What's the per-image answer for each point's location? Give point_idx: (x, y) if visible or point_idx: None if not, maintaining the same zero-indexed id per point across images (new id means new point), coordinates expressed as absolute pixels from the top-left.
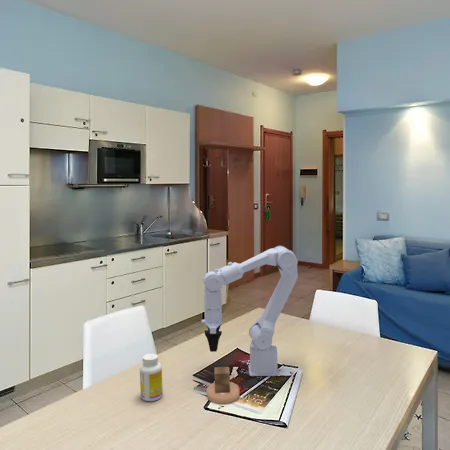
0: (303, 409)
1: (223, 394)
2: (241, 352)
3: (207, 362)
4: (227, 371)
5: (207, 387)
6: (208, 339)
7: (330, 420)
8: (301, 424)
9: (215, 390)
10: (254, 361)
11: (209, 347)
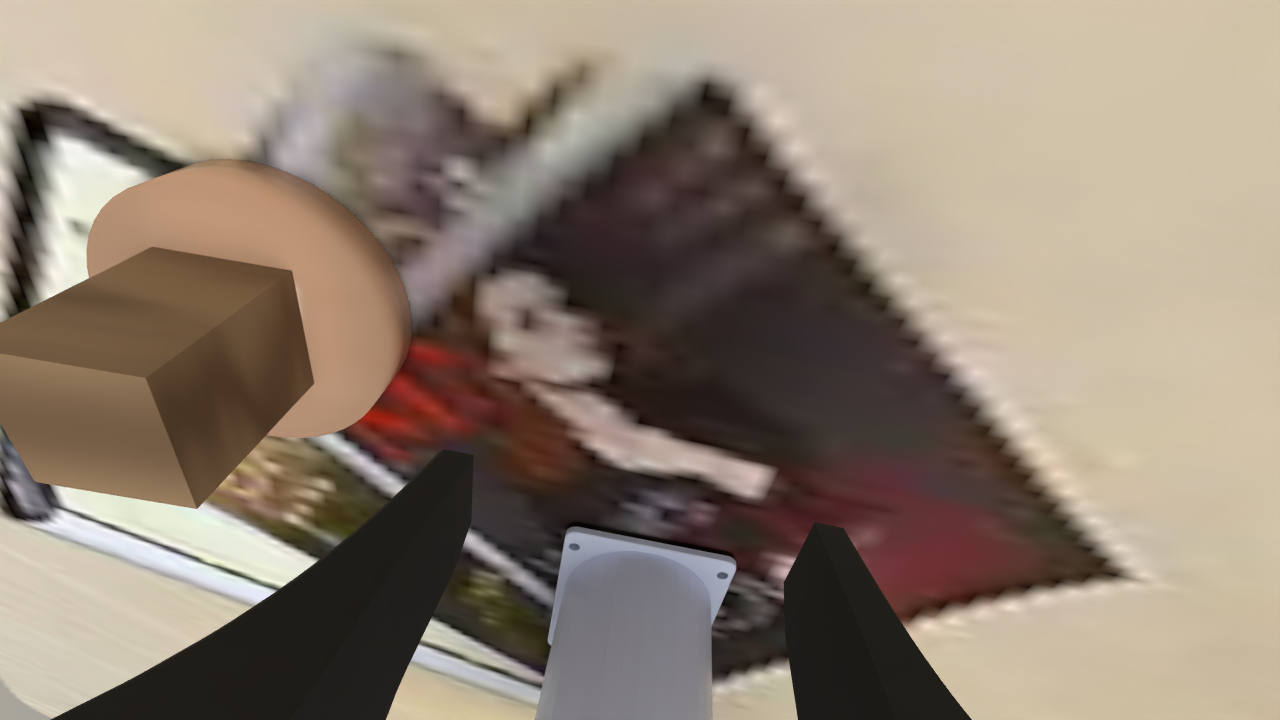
0: (195, 614)
1: None
2: (1008, 577)
3: (964, 290)
4: (76, 474)
5: (240, 195)
6: (223, 639)
7: (129, 654)
8: (56, 569)
9: (136, 260)
10: (570, 643)
11: (401, 490)
